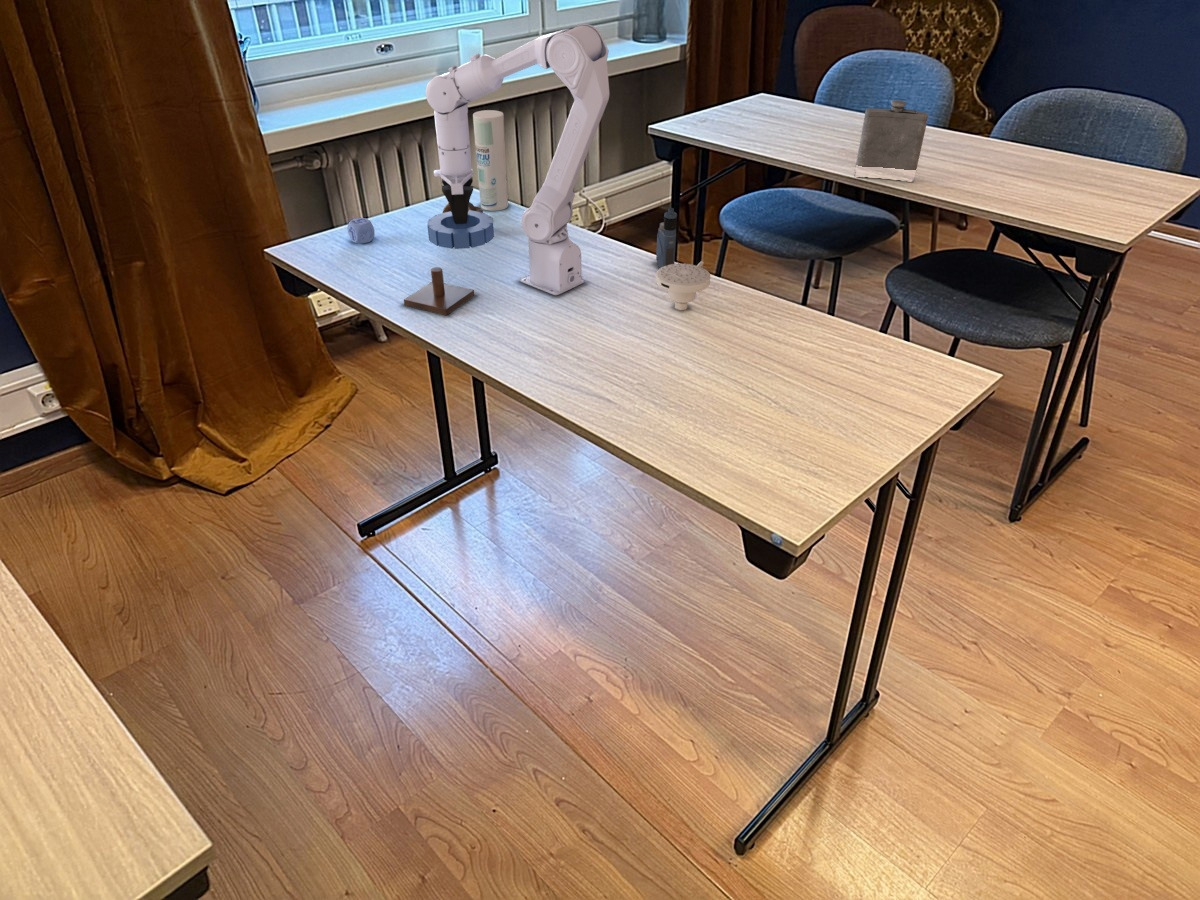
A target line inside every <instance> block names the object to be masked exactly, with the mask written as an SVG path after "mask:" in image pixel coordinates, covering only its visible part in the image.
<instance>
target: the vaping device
mask: <svg viewBox="0 0 1200 900" xmlns="http://www.w3.org/2000/svg"><path fill="white" fill-rule="evenodd" d="M677 218H678V213H677V212H675V208H673V207H668V208H667V211H665V212H664V216H663V222H660V223H659V227H658V230H657V235H656V257H655V260H656V265H657V266H658V267H659V269H660V268H662V267H664V266H667V265H671V264H675V258H676V242H677Z"/></svg>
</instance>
